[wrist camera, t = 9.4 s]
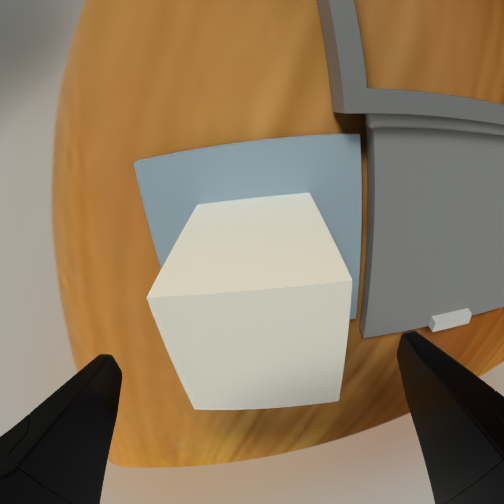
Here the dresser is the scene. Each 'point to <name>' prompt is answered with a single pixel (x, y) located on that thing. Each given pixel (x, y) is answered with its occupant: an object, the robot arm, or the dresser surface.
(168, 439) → the dresser surface
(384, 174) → the grey open frame
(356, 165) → the mat
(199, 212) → the block
